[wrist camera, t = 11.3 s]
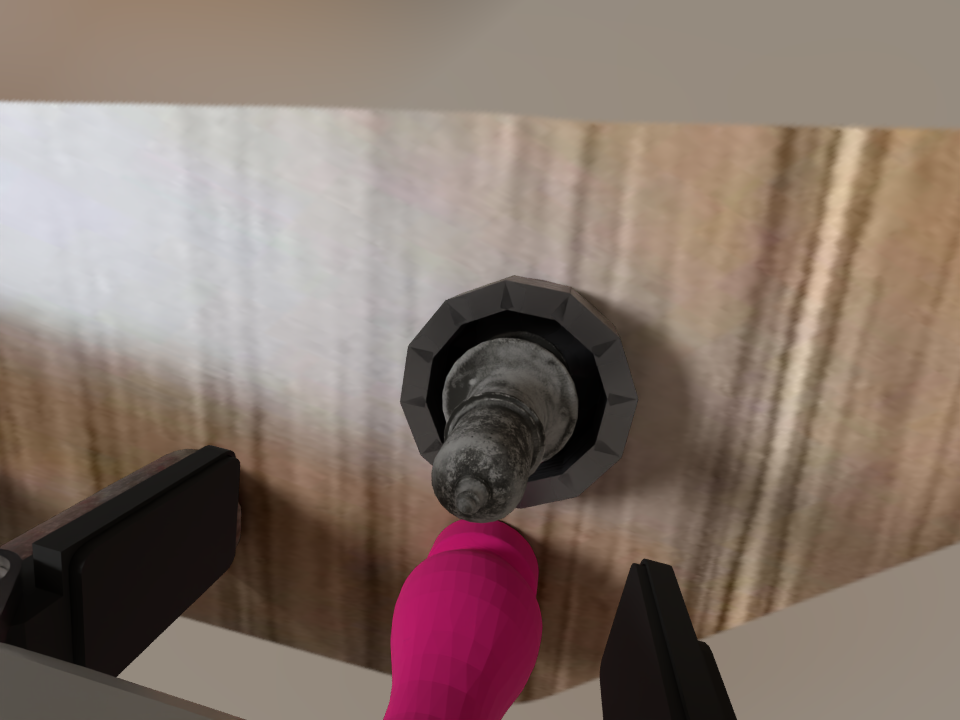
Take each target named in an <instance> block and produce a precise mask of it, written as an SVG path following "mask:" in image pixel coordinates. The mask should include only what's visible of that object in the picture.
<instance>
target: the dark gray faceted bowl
mask: <svg viewBox="0 0 960 720" xmlns="http://www.w3.org/2000/svg"><path fill="white" fill-rule="evenodd" d="M509 331H527V332H530V333H534V334H537V335H540V336H542V337H543V338H545V339H547V340H548V341H550V342H552V343H553V344H554V345H555V346H556V347H557V348H558V349H559V351H560V352H561V353H562V354H563V356H564V358H565V360H566V361H567V363H568V365H569V369H570V373H571V377H572V380H573V381H574V384H575V388H576V392H577V396H578V419H577V422H576V425H575V428H574V431H573V434H572V436H571V437H570V438H569V440H568V441H567V443H566V444H565V446H564V447H563V448H562V449H561V450H560V451H559V452H558V453H556V454H555V455H554V456H553V457H551V458H550V459H549V460H547V461H544V462H542V463H540V465H539V466H538V468H537V469H536V470H535V472H534V473H533V474H531V475H530V476H529V477H528V481H527V486H526V489H525V492H524V495H523V498H522V499H521V500H520V502H519V503H518V505H517V506H516V507H515V508H519V509H521V508H526V507H531V506H536V505H540V504H545V503H550V502H555V501H559V500H564V499H569V498H574V497H577V496H579V495H580V494H581V493H582V492H583V491H584V490H585V489H587V488H588V487H589V486H590V485H591V484H592V483H593V482H595V481H596V480H597V479H598V478H599V477H600V476H601V475H602V474H604V473H605V472H606V471H607V470H608V469H609V468H610V467H611V466H613V465H614V464H615V463H616V462H617V461H618V460H619V459H620V458H621V457H622V454H623V451H624V447H625V444H626V440H627V437H628V433H629V430H630V426H631V423H632V419H633V416H634V413H635V409H636V406H637V402H638V396H637V393H636V390H635V386H634V383H633V380H632V376H631V373H630V370H629V366H628V363H627V360H626V356H625V353H624V350H623V346H622V343H621V340H620V337H619V335H618V332H617V330H616V328H615V326H614V325H613V324H612V323H611V322H610V321H609V320H608V319H607V318H605V317H604V316H603V315H602V314H601V313H600V312H599V311H598V310H597V309H596V308H595V307H594V306H593V305H592V304H591V303H590V302H588V301H587V300H586V299H585V298H583V297H582V296H581V295H580V294H579V293H578V292H576V291H575V290H574V289H573V288H572V287H569V286H564V285H560V284H556V283H552V282H549V281H545V280H539V279H531V278H525V277H520V276H515V275H513V276H511V277H508V278H505V279H502V280H499V281H496V282H493V283H490V284H487V285H485V286H482V287H479V288H476V289H473V290H470V291H467V292H464V293H462V294H459V295H457V296H455V297H452V298H450V299H448V300H446V301H445V302H444V303H443V304H442V305H441V307H440V308H439V309H438V310H437V311H436V313H435V314H434V315H433V316H432V318H431V319H430V320H429V321H428V322H427V324H426V325H425V326H424V327H423V328H422V330H421V331H420V332H419V333H418V335H417V336H416V337H415V338H414V339H413V341H412V342H411V343H410V344H409V346H408V350H407V357H406V364H405V371H404V378H403V385H402V392H401V399H400V403H401V406H402V408H403V411H404V413H405V416H406V419H407V421H408V424H409V426H410V429H411V432H412V434H413V437H414V439H415V442H416V444H417V447H418V450H419V452H420V455H421V456H422V457H423V458H425V459H426V460H427V461H428V462H429V463H430V464H431V465H432V466H433V464H434V460H435V457H436V455H437V454H438V452H439V451H440V449H441V447H442V446H443V444H444V430H445V426H446V419H445V416H444V412H443V396H442V393H443V389H444V385H445V381H446V377H447V376H448V374H449V372H450V370H451V369H452V367H453V365H454V363H455V362H456V361H457V360H458V359H459V358H460V357H461V356H462V355H463V354H464V353H465V352H466V351H467V350H469V349H471V348H473V347H475V346H477V345H478V344H480V343H482V342H485V341H486V340H488V339H490V338H492V337H494V336H495V335H497V334H500V333H505V332H509Z"/></svg>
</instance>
